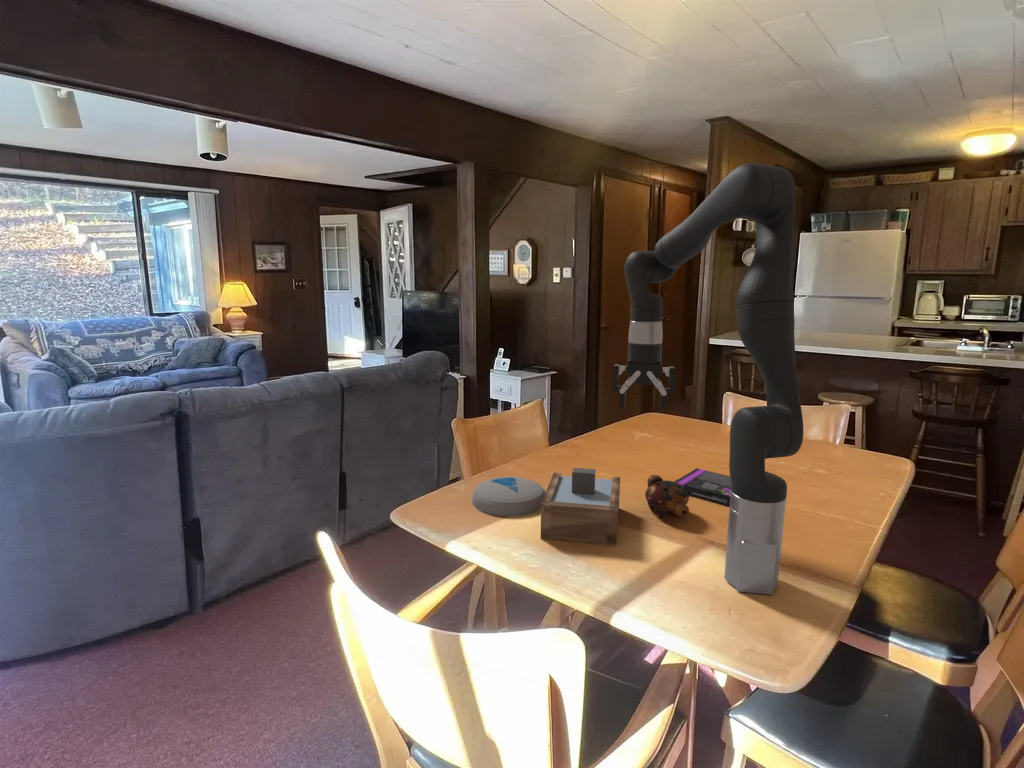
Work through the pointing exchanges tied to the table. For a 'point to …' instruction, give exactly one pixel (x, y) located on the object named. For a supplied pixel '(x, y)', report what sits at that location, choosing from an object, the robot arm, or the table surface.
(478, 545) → the table surface
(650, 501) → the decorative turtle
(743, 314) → the robot arm
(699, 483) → the box
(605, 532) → the walnut box
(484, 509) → the grey thick disc
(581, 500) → the lid
